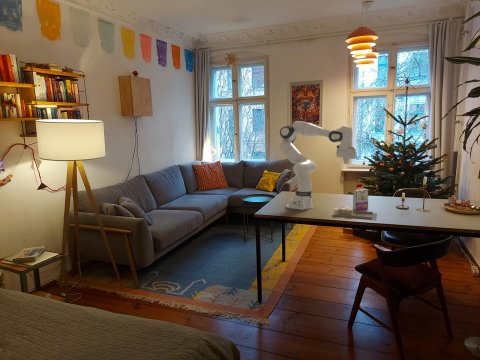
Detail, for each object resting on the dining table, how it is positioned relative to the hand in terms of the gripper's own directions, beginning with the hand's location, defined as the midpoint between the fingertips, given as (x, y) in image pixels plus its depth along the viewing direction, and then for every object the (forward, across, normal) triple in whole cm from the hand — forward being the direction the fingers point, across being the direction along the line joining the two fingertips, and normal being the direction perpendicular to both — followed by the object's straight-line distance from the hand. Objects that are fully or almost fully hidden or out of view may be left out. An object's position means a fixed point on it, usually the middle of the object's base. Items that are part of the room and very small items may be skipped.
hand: (345, 163), depth 269 cm
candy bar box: (+37, -8, -8) cm, 39 cm away
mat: (+37, -21, +7) cm, 43 cm away
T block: (+37, -16, +15) cm, 43 cm away
